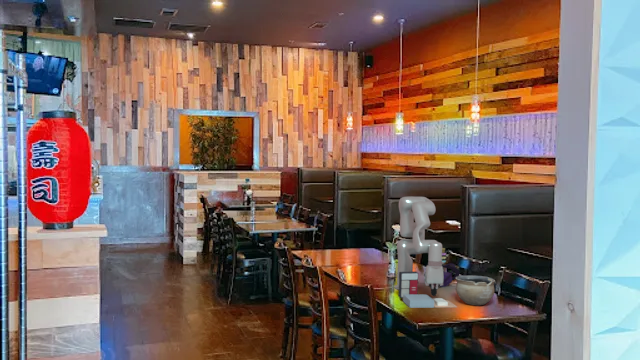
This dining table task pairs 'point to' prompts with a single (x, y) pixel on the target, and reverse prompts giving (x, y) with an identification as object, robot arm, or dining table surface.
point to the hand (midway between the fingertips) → (433, 295)
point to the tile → (440, 302)
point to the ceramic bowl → (475, 289)
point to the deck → (418, 301)
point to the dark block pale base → (408, 283)
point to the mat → (446, 306)
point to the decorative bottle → (447, 276)
